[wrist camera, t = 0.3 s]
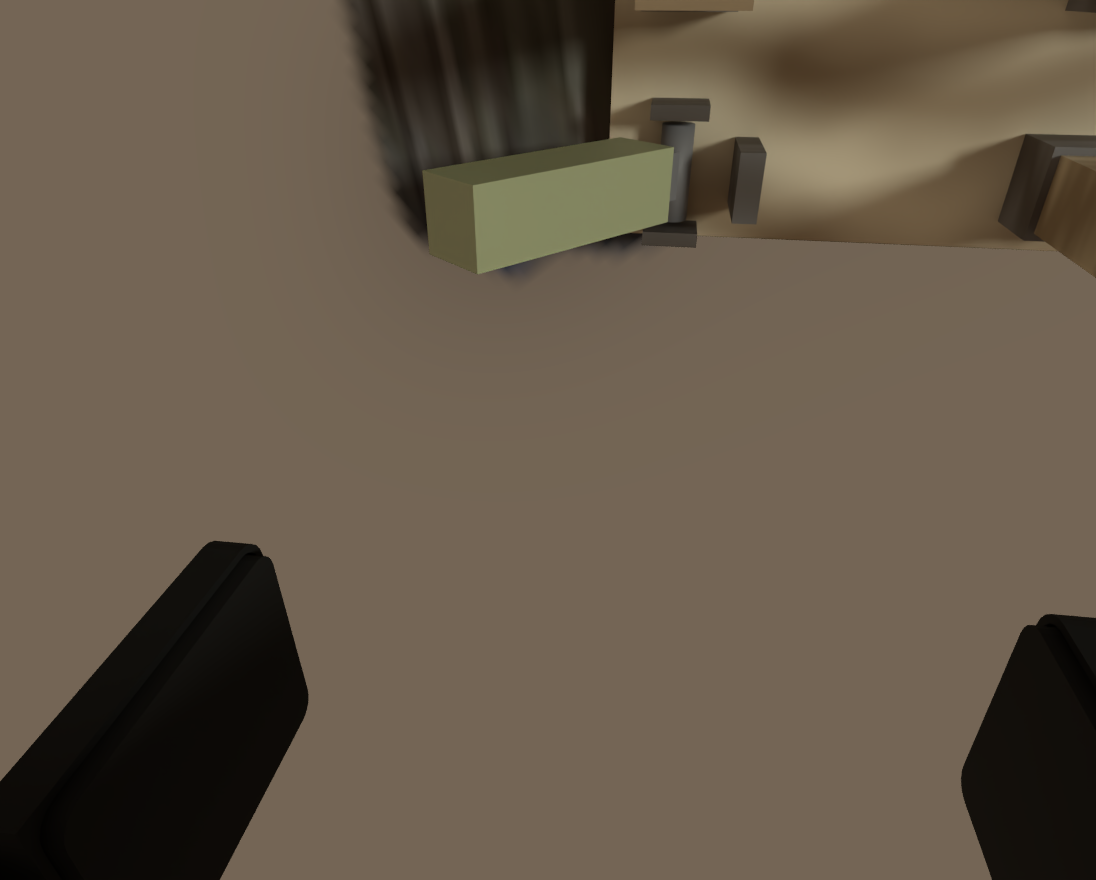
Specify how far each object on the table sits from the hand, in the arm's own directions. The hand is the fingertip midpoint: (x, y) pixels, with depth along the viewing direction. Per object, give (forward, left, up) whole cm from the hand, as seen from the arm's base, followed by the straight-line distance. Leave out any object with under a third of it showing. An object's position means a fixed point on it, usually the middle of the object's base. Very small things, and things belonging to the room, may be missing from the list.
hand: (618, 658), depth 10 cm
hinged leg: (0, +1, -28) cm, 28 cm away
